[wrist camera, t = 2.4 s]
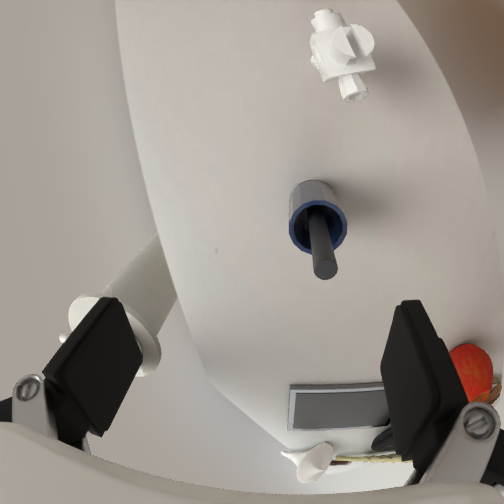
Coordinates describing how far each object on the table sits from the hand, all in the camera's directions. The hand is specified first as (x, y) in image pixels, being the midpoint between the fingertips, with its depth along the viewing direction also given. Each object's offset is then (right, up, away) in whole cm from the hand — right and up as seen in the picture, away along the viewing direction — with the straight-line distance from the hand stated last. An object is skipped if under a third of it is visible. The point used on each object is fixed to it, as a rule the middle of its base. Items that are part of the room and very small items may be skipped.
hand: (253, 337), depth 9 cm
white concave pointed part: (+6, -42, +46) cm, 63 cm away
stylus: (+6, +8, +20) cm, 22 cm away
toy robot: (+7, +20, +14) cm, 26 cm away
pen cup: (+6, +8, +21) cm, 23 cm away
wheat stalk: (+19, -45, +46) cm, 67 cm away
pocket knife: (+17, -50, +48) cm, 71 cm away
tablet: (+16, -24, +36) cm, 46 cm away
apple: (+33, -13, +28) cm, 46 cm away
